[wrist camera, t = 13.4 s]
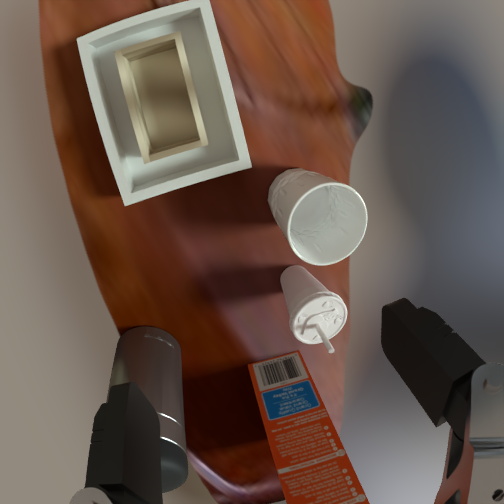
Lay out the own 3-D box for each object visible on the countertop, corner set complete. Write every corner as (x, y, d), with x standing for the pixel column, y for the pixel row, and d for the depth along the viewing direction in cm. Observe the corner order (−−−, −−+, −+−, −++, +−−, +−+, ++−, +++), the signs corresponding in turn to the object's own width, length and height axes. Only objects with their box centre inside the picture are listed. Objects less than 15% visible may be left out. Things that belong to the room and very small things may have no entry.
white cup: (336, 175, 37) (380, 199, 28) (311, 235, 40) (346, 273, 31) (276, 153, 35) (307, 169, 26) (252, 217, 38) (274, 254, 29)
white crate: (245, 161, 35) (252, 167, 31) (131, 195, 34) (125, 206, 30) (205, 8, 27) (208, -4, 23) (87, 45, 26) (76, 38, 22)
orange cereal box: (247, 364, 47) (303, 554, 20) (299, 350, 48) (380, 527, 21) (268, 438, 57) (309, 569, 30) (307, 427, 58) (358, 553, 31)
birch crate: (205, 140, 32) (208, 144, 28) (150, 156, 32) (144, 164, 27) (181, 42, 27) (180, 30, 23) (124, 59, 27) (114, 51, 22)
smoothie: (260, 275, 41) (292, 349, 28) (301, 245, 40) (351, 308, 28) (286, 307, 44) (322, 380, 31) (325, 279, 43) (374, 345, 31)
